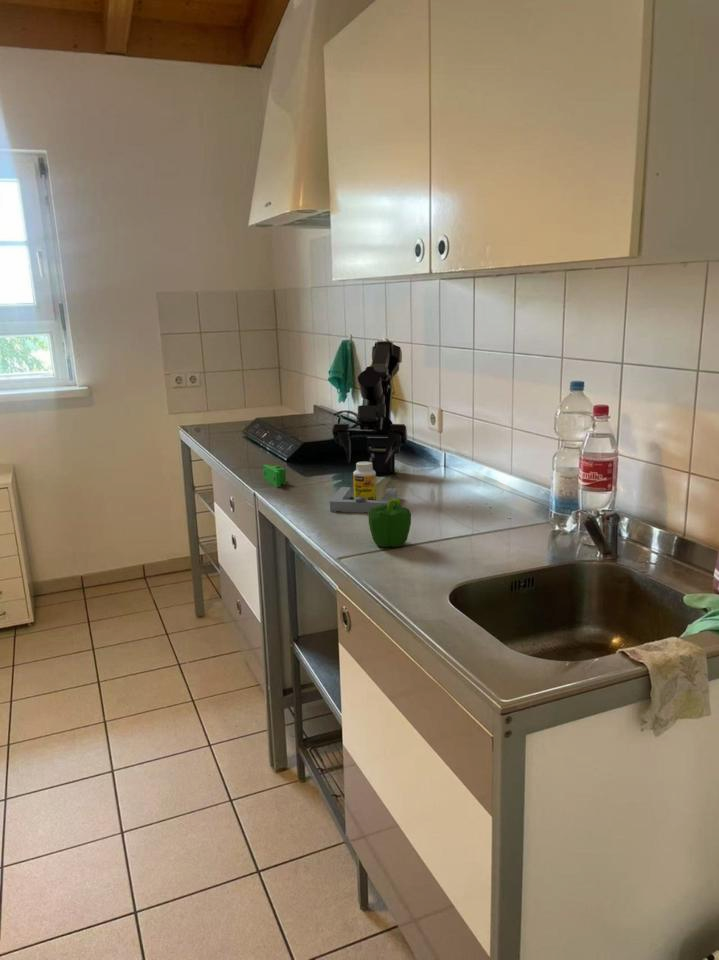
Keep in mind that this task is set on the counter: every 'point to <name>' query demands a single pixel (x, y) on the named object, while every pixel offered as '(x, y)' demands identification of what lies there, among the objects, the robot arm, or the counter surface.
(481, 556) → the counter surface
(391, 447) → the robot arm
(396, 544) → the bell pepper
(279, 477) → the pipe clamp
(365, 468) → the supplement bottle
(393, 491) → the housing cradle
